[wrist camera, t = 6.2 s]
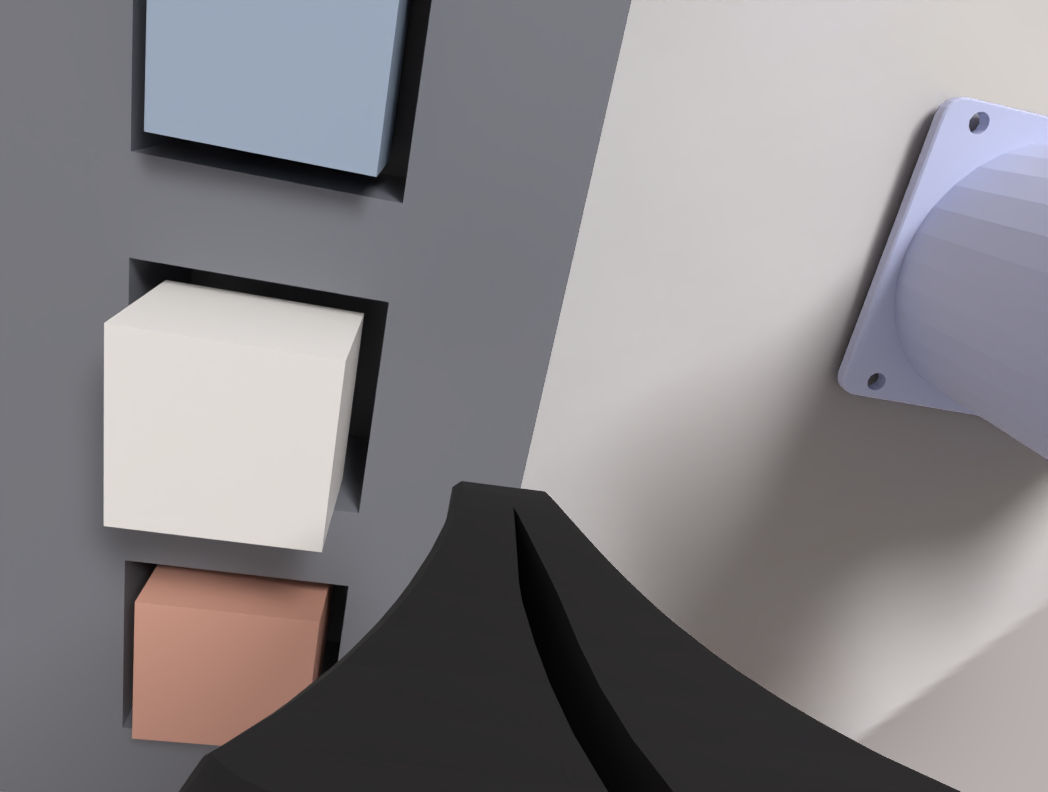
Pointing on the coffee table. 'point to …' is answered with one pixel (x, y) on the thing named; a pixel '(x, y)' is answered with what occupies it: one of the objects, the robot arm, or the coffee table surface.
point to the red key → (222, 651)
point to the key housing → (278, 272)
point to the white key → (227, 415)
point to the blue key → (278, 77)
